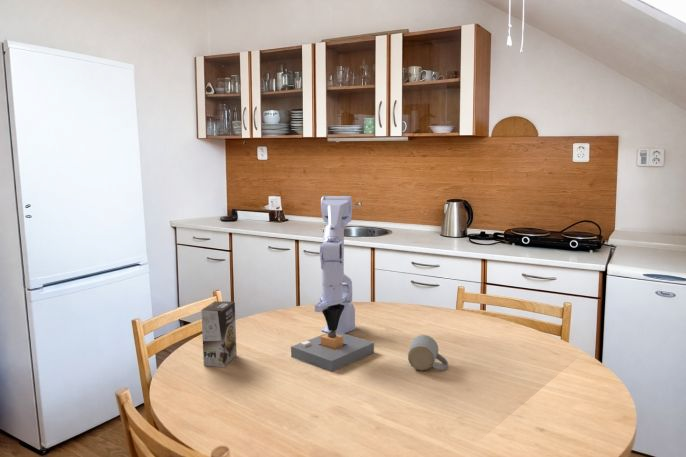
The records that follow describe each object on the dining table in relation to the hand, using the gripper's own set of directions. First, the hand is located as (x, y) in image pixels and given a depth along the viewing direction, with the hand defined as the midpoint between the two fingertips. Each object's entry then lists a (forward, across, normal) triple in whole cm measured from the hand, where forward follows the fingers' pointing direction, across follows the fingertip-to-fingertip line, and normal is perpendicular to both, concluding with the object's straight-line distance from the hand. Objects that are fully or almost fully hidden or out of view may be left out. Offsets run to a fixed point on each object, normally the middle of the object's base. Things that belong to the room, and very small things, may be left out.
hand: (332, 329), depth 153 cm
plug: (+8, 0, 0) cm, 8 cm away
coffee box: (+8, +20, -24) cm, 33 cm away
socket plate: (+7, 0, 0) cm, 7 cm away
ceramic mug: (+8, -7, +27) cm, 29 cm away
